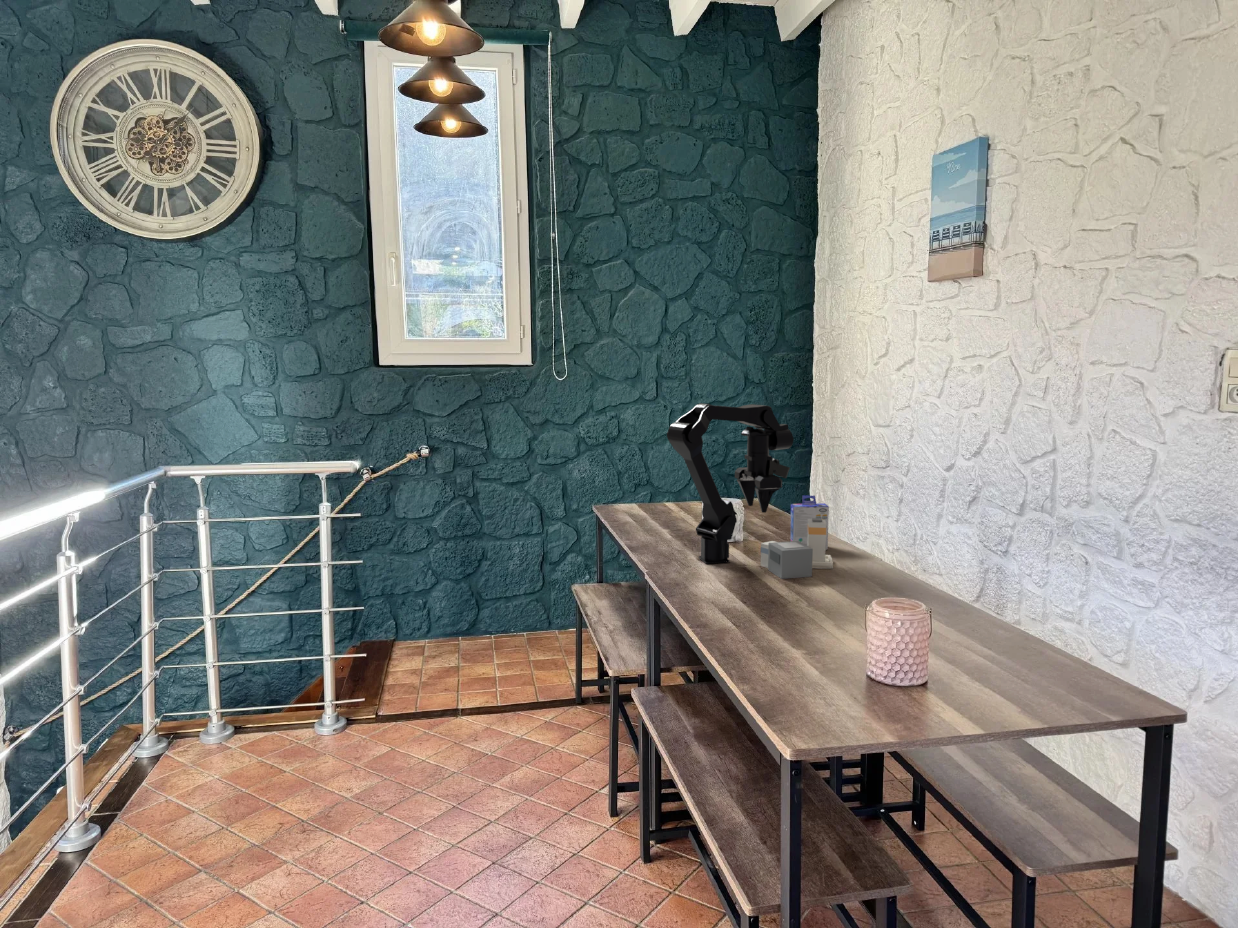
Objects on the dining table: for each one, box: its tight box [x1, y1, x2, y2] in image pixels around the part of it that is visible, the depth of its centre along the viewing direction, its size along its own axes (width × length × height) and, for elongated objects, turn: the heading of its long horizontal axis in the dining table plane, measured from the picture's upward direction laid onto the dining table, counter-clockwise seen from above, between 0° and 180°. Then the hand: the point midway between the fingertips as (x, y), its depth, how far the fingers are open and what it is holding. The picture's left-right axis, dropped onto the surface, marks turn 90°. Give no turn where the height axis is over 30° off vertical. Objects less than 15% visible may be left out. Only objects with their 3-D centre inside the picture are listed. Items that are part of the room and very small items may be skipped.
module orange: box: [807, 518, 826, 562], centre depth 209 cm, size 4×4×11 cm
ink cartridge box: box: [790, 495, 830, 551], centre depth 226 cm, size 10×6×14 cm, turn 89°
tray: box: [812, 554, 834, 570], centre depth 210 cm, size 8×8×2 cm
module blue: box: [760, 540, 777, 569], centre depth 208 cm, size 4×4×6 cm
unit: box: [767, 540, 813, 580], centre depth 201 cm, size 8×8×7 cm
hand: (757, 509), depth 220 cm, fingers open, 9 cm apart
